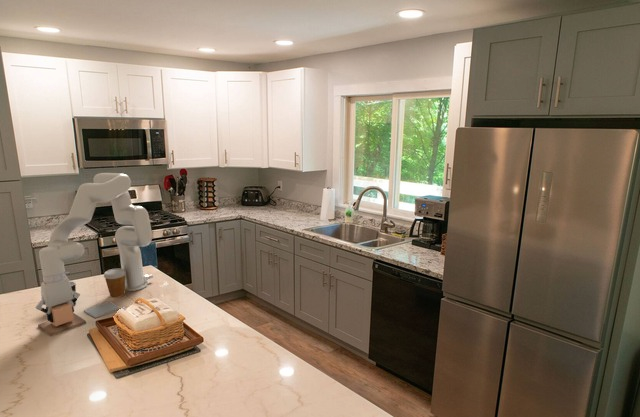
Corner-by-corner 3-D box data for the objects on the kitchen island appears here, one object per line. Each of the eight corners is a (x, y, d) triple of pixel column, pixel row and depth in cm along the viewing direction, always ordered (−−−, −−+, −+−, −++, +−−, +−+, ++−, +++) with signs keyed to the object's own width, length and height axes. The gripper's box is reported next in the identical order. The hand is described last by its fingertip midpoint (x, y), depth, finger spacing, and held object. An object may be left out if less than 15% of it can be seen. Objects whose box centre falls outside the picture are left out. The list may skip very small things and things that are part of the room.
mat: (109, 302, 182) (109, 301, 182) (121, 308, 175) (120, 307, 175) (83, 311, 173) (83, 310, 173) (95, 318, 167) (95, 317, 166)
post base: (73, 314, 171) (70, 297, 169) (86, 323, 163) (83, 305, 161) (38, 326, 160) (35, 308, 159) (50, 336, 153) (47, 317, 151)
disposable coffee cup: (107, 293, 192) (103, 269, 190) (128, 289, 196) (125, 266, 194) (105, 300, 184) (102, 276, 181) (128, 296, 188) (125, 273, 185)
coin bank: (67, 315, 166) (64, 299, 164) (74, 319, 162) (71, 303, 160) (49, 321, 161) (46, 305, 159) (56, 326, 157) (53, 309, 155)
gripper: (74, 268, 166) (80, 307, 170) (25, 281, 153) (33, 323, 157) (81, 272, 162) (87, 312, 166) (32, 286, 148) (40, 329, 152)
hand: (61, 317), depth 161 cm, fingers closed on coin bank, 6 cm apart
